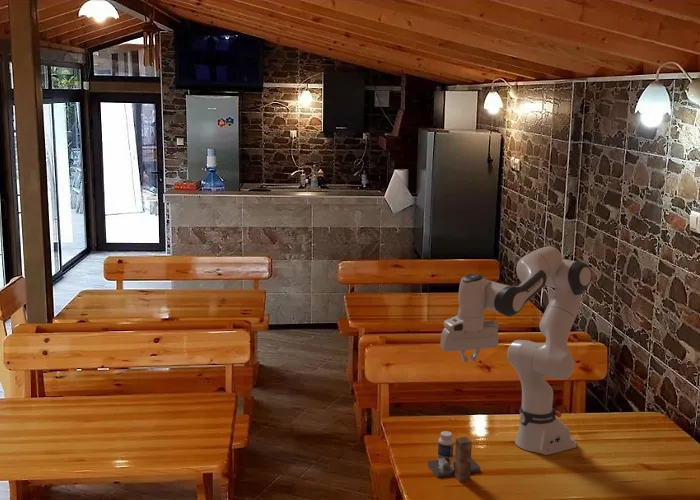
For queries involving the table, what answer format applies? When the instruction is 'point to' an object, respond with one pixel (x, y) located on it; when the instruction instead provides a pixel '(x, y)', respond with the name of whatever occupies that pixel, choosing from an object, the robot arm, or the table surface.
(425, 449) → the table surface
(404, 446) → the table surface
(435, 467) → the breaker strip
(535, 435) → the robot arm
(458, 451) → the walnut post
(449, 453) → the pill bottle
